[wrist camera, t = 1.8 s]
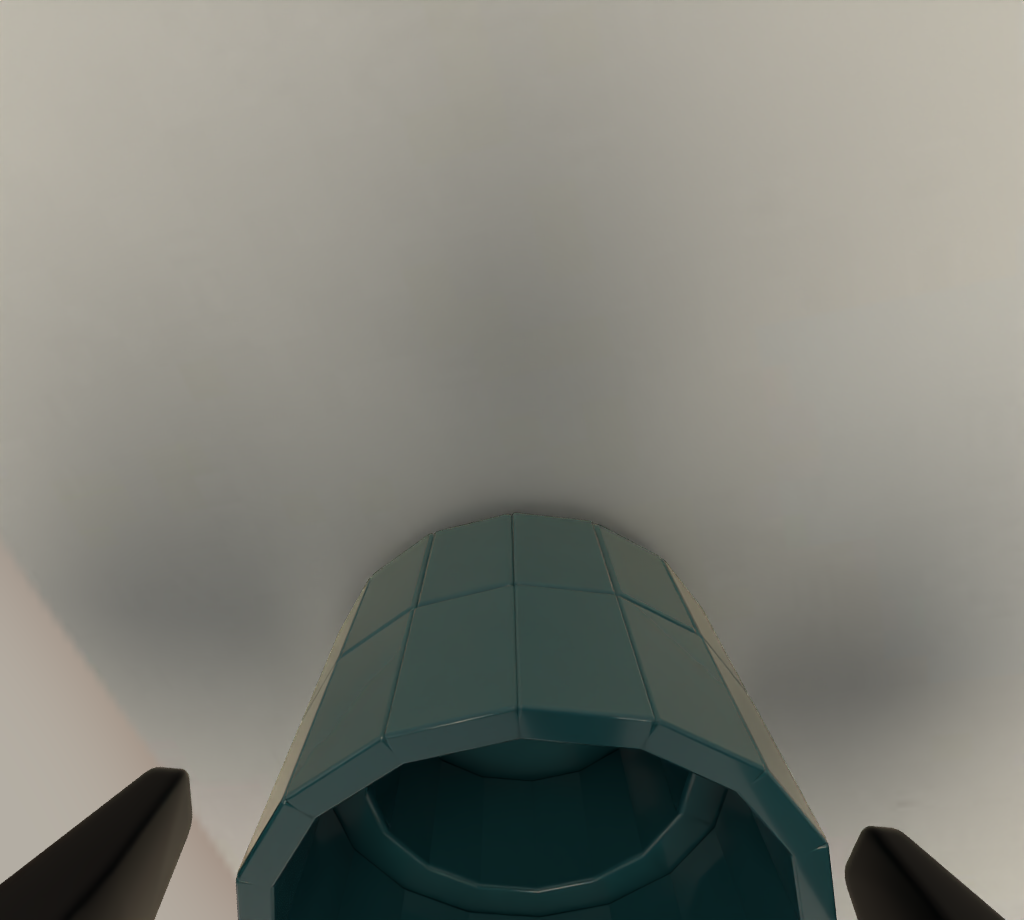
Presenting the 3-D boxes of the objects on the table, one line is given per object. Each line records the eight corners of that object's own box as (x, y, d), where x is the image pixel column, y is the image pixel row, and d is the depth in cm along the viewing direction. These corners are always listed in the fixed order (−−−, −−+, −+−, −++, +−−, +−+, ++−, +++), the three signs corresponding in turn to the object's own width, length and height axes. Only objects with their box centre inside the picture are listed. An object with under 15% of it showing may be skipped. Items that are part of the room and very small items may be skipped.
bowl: (658, 803, 12) (744, 1115, 8) (340, 777, 11) (245, 1089, 7) (743, 522, 10) (928, 744, 5) (350, 478, 9) (222, 679, 5)
